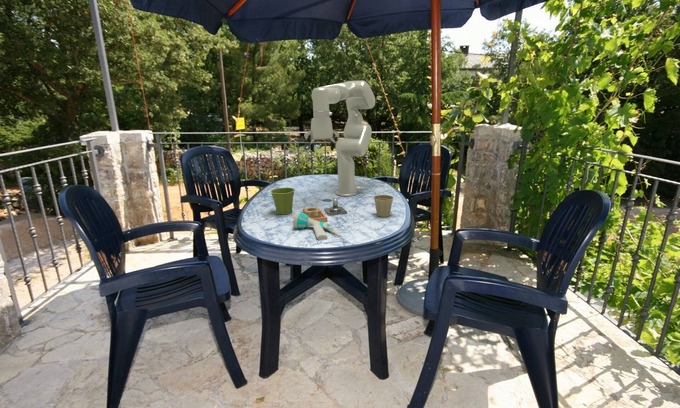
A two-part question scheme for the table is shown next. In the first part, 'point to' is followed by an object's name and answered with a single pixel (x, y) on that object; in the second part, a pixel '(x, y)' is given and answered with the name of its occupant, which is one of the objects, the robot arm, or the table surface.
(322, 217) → the terracotta tray
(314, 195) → the table surface
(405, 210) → the table surface
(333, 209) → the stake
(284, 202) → the plant pot
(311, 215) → the wooden ring
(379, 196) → the flower pot
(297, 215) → the garden hose nozzle
